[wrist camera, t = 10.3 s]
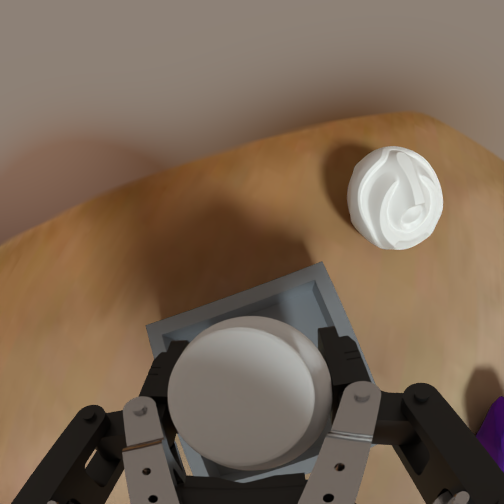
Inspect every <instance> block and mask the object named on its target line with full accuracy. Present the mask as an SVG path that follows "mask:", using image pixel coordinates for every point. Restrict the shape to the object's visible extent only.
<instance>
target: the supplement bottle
mask: <svg viewBox="0 0 504 504" xmlns="http://www.w3.org/2000/svg"><path fill="white" fill-rule="evenodd" d="M332 394H333V393H332V381H331V376H330V373H329V369H328V367H327V364H326V362H325V360H324V358H323V356H322V355H321V353H320V351H319V350H318V349H317V347H316V346H315V345H314V344H313V342H312V341H311V340H310V339H308V338H307V337H306V336H305V335H304V334H303V333H301V332H300V331H299V330H297V329H295V328H294V327H292V326H290V325H288V324H286V323H284V322H281V321H278V320H275V319H272V318H267V317H260V316H243V317H236V318H231V319H227V320H224V321H221V322H219V323H216V324H214V325H212V326H210V327H209V328H207V329H205V330H204V331H202V332H201V333H200V334H199V335H197V336H196V337H195V338H194V339H193V340H192V341H191V342H190V343H189V344H188V346H187V347H186V348H185V349H184V351H183V352H182V354H181V356H180V357H179V359H178V361H177V362H176V364H175V366H174V368H173V370H172V373H171V376H170V379H169V385H168V406H169V412H170V415H171V419H172V421H173V423H174V426H175V427H176V429H177V431H178V433H179V434H180V436H181V437H182V438H183V440H184V441H185V442H186V443H187V444H188V445H189V446H190V447H191V448H192V449H193V450H195V451H196V452H197V453H199V454H200V455H202V456H203V457H205V458H207V459H209V460H211V461H214V462H216V463H218V464H220V465H223V466H226V467H229V468H233V469H238V470H265V469H270V468H274V467H277V466H280V465H283V464H285V463H288V462H290V461H292V460H293V459H295V458H297V457H298V456H300V455H301V454H302V453H304V452H305V451H306V450H307V449H308V448H309V447H310V446H311V445H312V444H313V443H314V442H315V441H316V440H317V438H318V437H319V436H320V434H321V433H322V431H323V429H324V427H325V425H326V423H327V420H328V418H329V415H330V411H331V406H332Z"/></svg>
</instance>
